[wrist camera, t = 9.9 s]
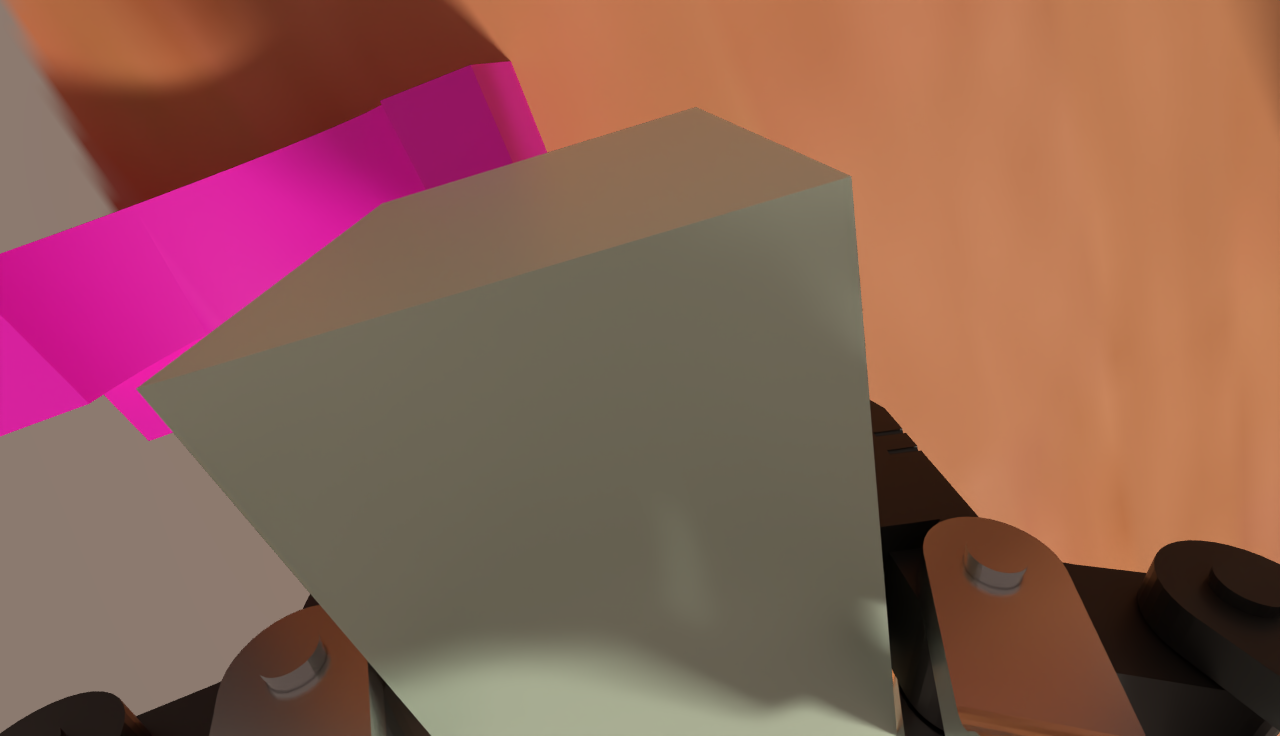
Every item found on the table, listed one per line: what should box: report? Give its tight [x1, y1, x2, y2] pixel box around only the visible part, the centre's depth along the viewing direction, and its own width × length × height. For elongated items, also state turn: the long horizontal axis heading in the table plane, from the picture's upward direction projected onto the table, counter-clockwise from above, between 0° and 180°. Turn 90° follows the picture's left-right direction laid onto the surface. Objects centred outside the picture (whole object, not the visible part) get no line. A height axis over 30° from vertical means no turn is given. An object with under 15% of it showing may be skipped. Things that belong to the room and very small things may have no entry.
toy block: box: [0, 61, 547, 441], centre depth 17 cm, size 15×6×8 cm, turn 109°
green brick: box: [136, 107, 897, 736], centre depth 8 cm, size 4×9×5 cm, turn 15°
